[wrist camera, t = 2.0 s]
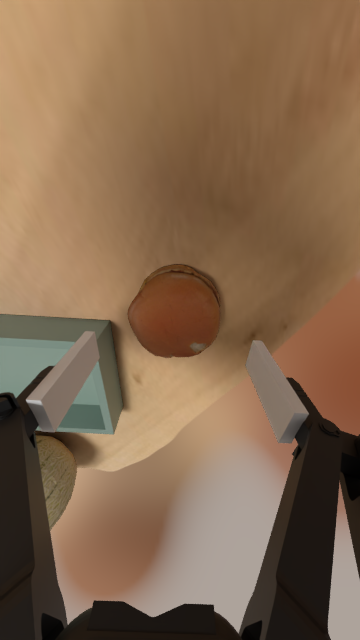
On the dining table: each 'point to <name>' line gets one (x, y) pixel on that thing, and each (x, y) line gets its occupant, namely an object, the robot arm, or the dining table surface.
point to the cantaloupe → (56, 475)
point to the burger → (175, 312)
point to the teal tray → (47, 350)
